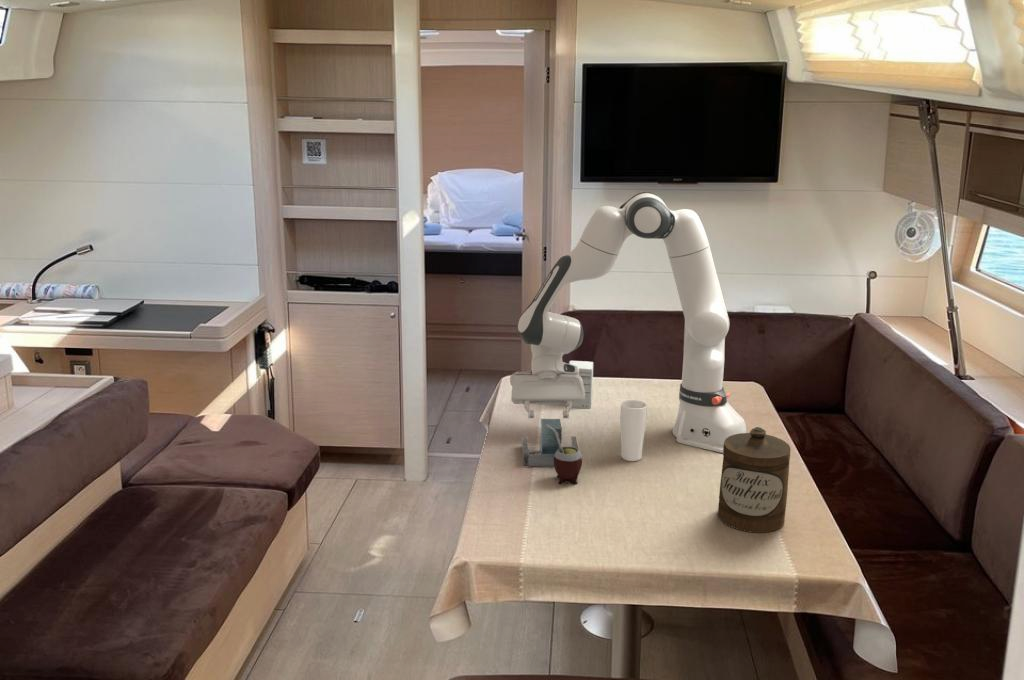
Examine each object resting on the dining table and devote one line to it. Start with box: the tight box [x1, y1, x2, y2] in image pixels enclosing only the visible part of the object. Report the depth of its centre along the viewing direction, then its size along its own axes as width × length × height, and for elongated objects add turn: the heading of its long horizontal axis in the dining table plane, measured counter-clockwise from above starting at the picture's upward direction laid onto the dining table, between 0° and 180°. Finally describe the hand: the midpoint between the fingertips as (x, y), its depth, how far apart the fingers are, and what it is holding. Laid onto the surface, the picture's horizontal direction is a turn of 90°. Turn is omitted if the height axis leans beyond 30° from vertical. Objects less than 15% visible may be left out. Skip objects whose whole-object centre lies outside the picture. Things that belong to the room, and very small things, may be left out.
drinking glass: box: [619, 399, 648, 462], centre depth 248 cm, size 7×7×15 cm
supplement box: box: [568, 360, 594, 409], centre depth 288 cm, size 7×7×13 cm
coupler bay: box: [521, 435, 580, 468], centre depth 250 cm, size 13×14×3 cm
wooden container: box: [717, 426, 791, 533], centre depth 215 cm, size 15×15×22 cm
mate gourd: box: [546, 424, 583, 485], centre depth 234 cm, size 8×8×15 cm
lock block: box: [539, 418, 563, 454], centre depth 250 cm, size 8×5×9 cm, turn 1°
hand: (548, 417), depth 259 cm, fingers open, 8 cm apart
